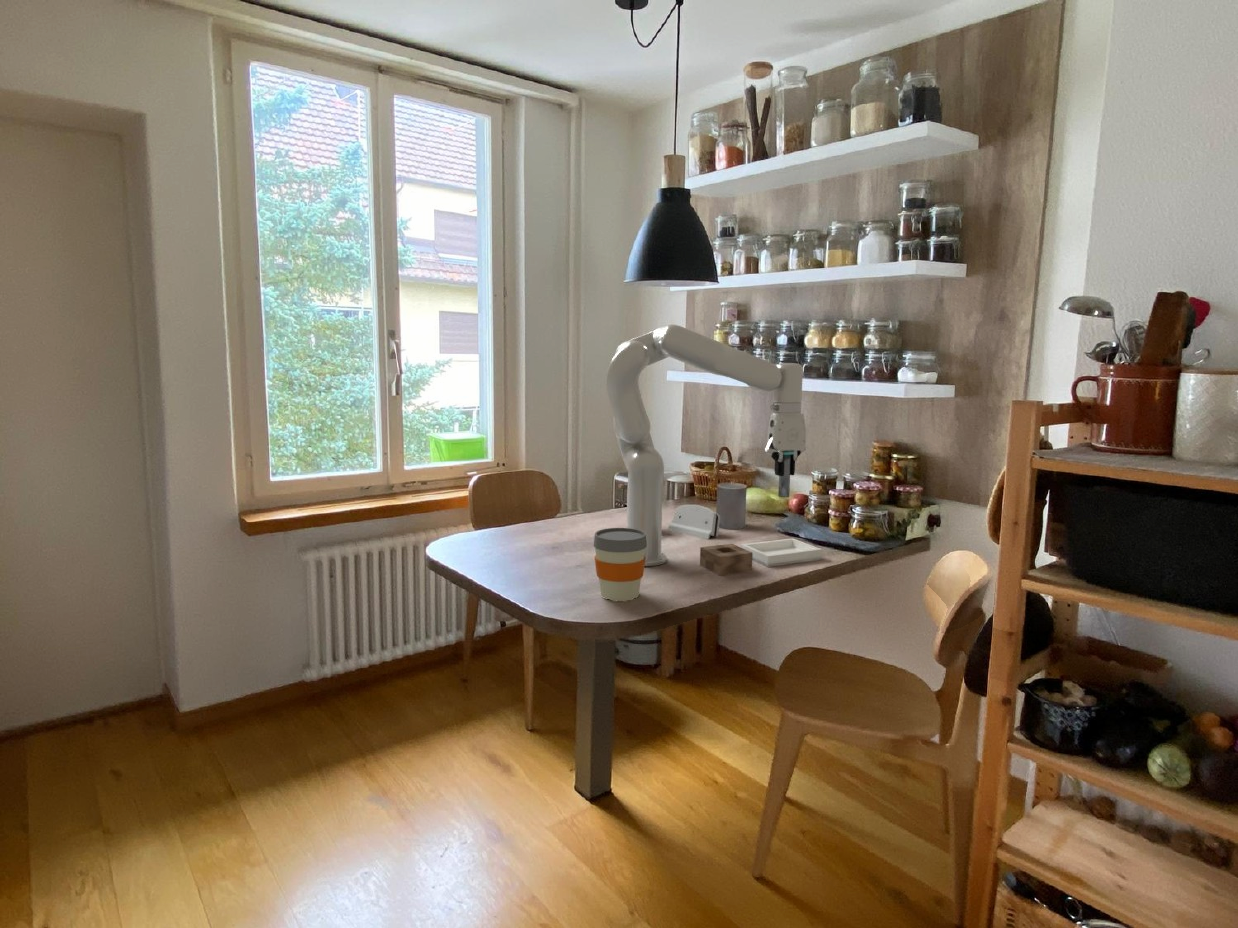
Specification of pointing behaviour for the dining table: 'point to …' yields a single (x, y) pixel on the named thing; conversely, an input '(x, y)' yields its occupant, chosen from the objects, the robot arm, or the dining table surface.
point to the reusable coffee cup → (620, 562)
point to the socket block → (726, 559)
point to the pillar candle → (731, 505)
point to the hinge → (695, 521)
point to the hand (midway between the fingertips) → (784, 474)
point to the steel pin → (785, 475)
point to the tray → (782, 552)
